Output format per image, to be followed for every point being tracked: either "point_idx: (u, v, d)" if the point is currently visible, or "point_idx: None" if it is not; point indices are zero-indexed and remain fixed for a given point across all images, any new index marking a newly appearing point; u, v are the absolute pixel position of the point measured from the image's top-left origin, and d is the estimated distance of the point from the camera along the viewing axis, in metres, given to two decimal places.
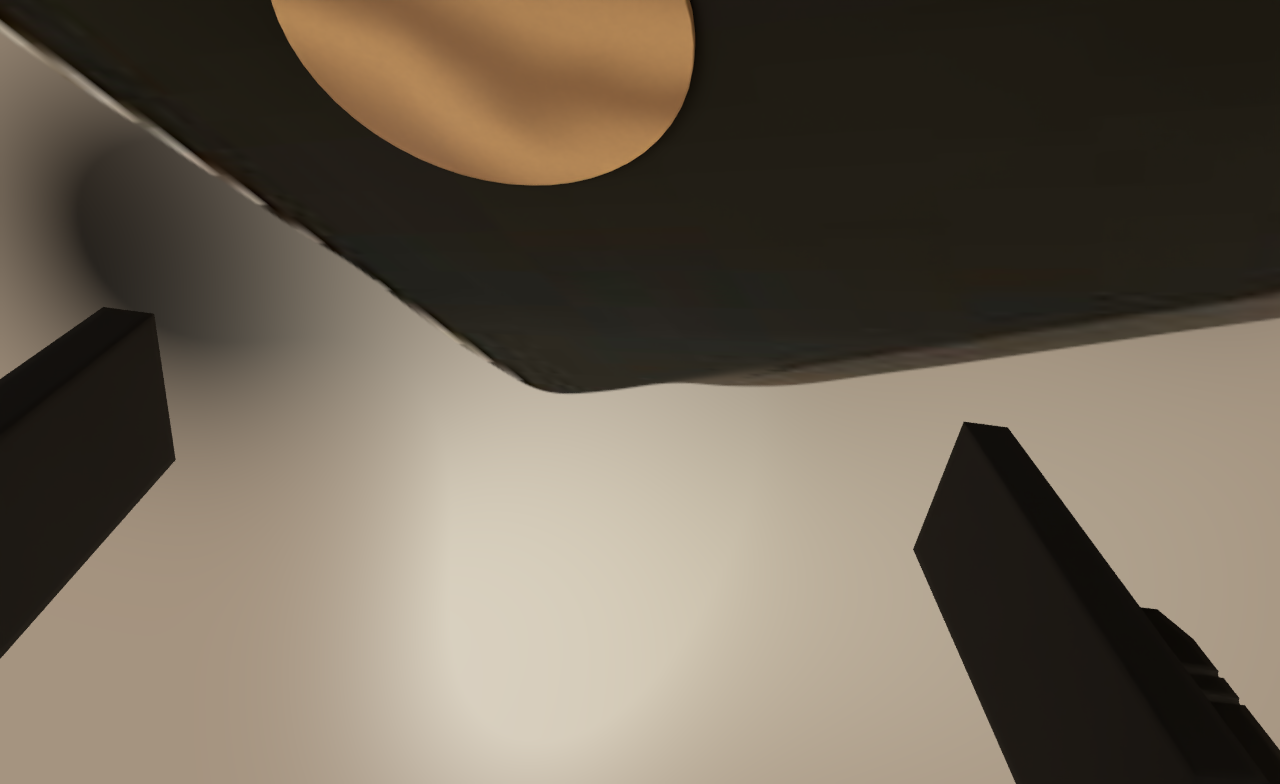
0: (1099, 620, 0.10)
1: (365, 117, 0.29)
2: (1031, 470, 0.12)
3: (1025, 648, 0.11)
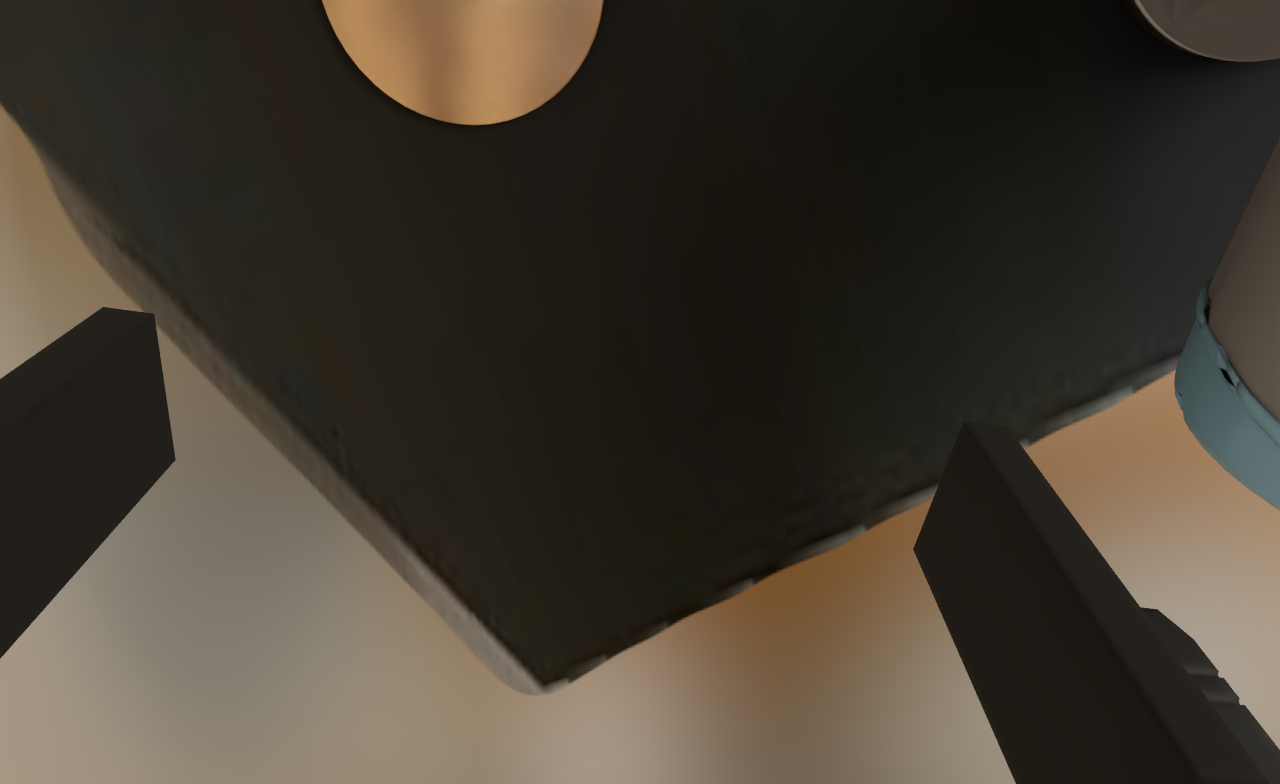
0: (1099, 620, 0.10)
1: None
2: (1031, 470, 0.12)
3: (1025, 648, 0.11)
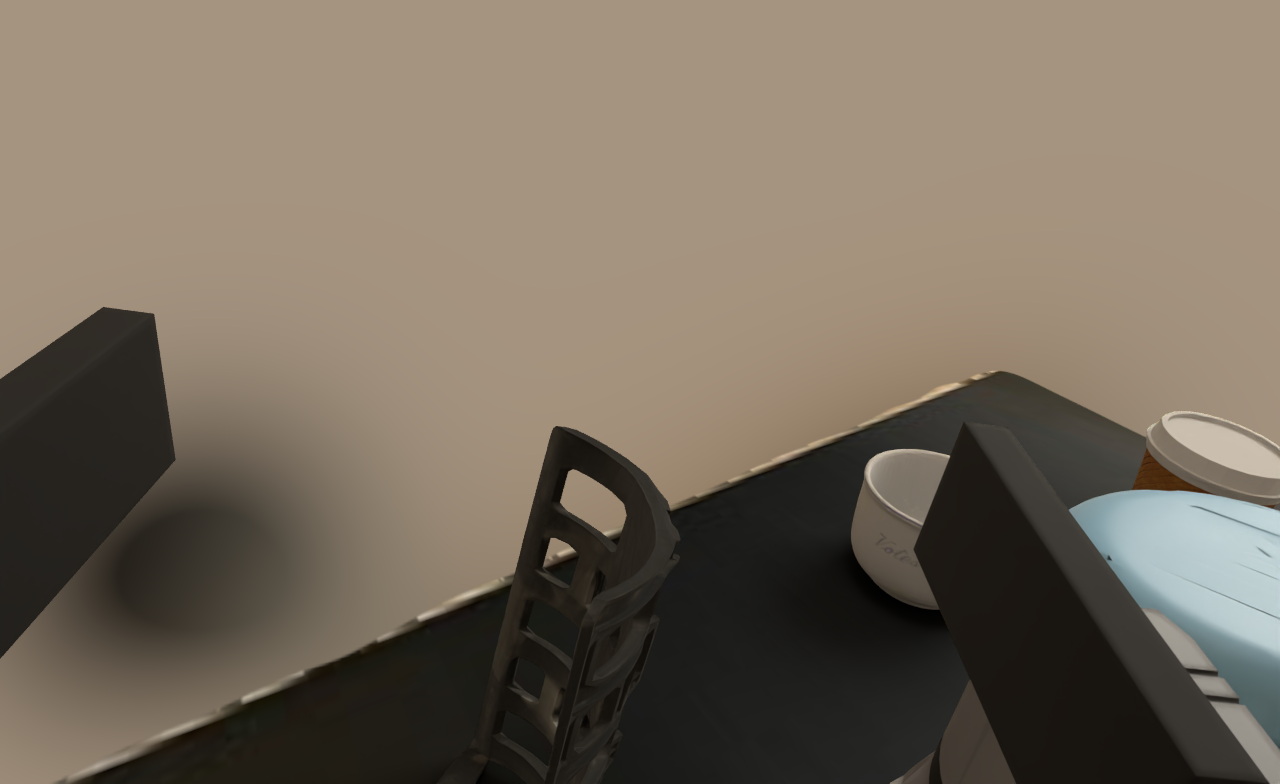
0: (1099, 620, 0.10)
1: None
2: (1031, 470, 0.12)
3: (1025, 648, 0.11)
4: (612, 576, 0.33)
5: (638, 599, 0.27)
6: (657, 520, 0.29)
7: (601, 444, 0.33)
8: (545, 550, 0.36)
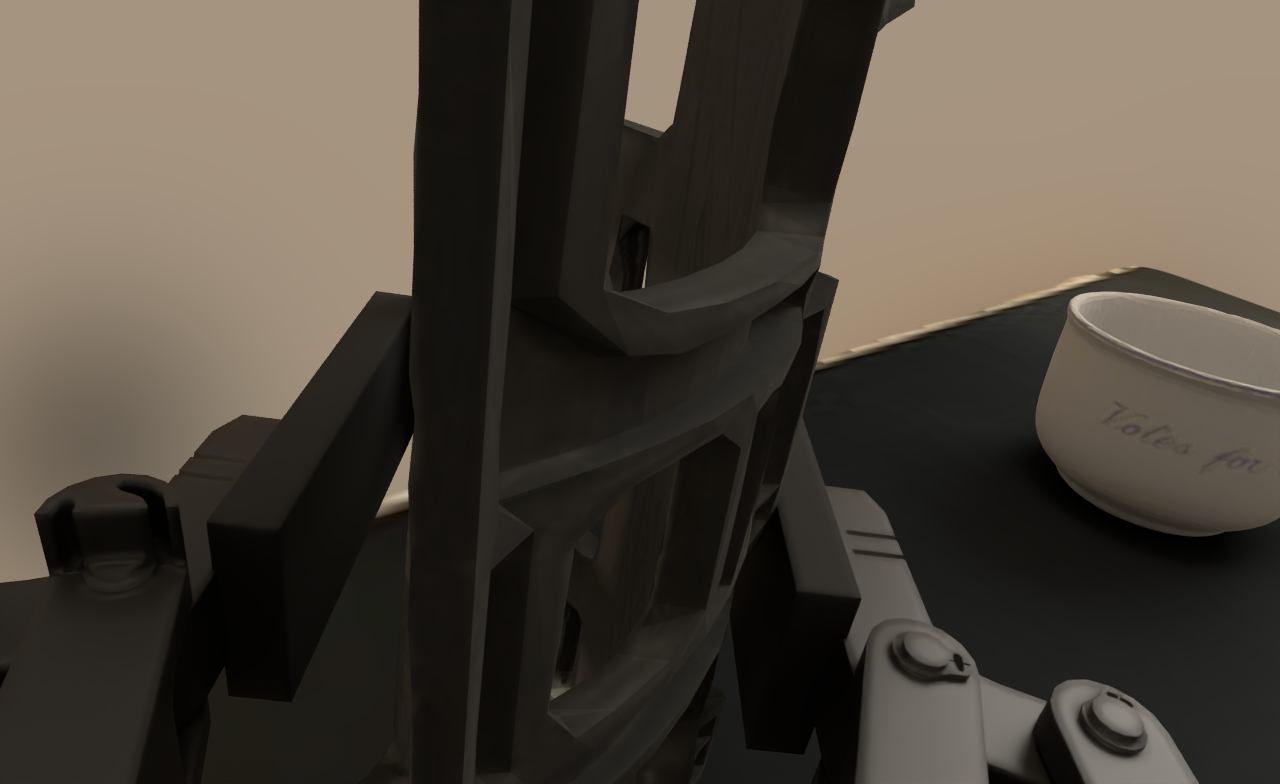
0: None
1: None
2: None
3: None
4: (668, 208, 0.11)
5: None
6: None
7: None
8: None
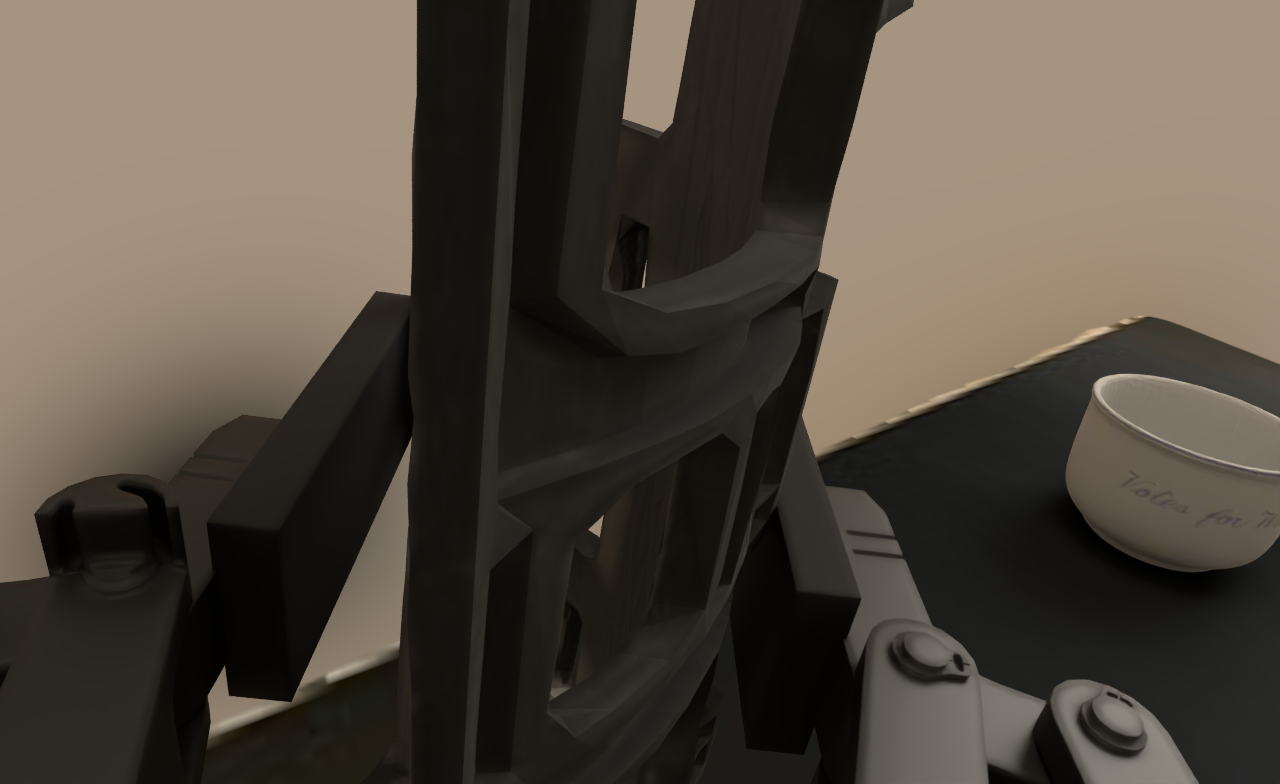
0: None
1: None
2: None
3: None
4: (667, 208, 0.11)
5: None
6: None
7: None
8: None
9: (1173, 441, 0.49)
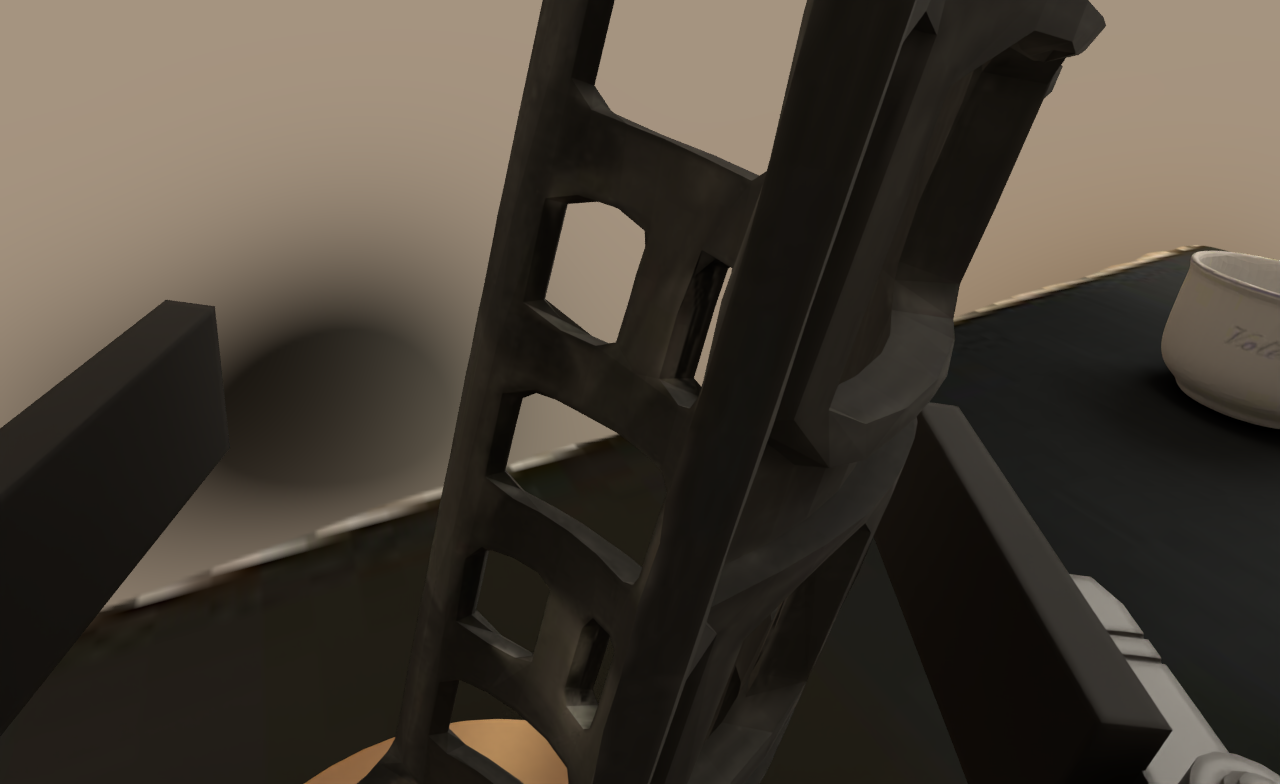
0: (1026, 583, 0.10)
1: (333, 783, 0.19)
2: (976, 446, 0.13)
3: (962, 614, 0.11)
4: None
5: None
6: None
7: None
8: (552, 244, 0.13)
9: None
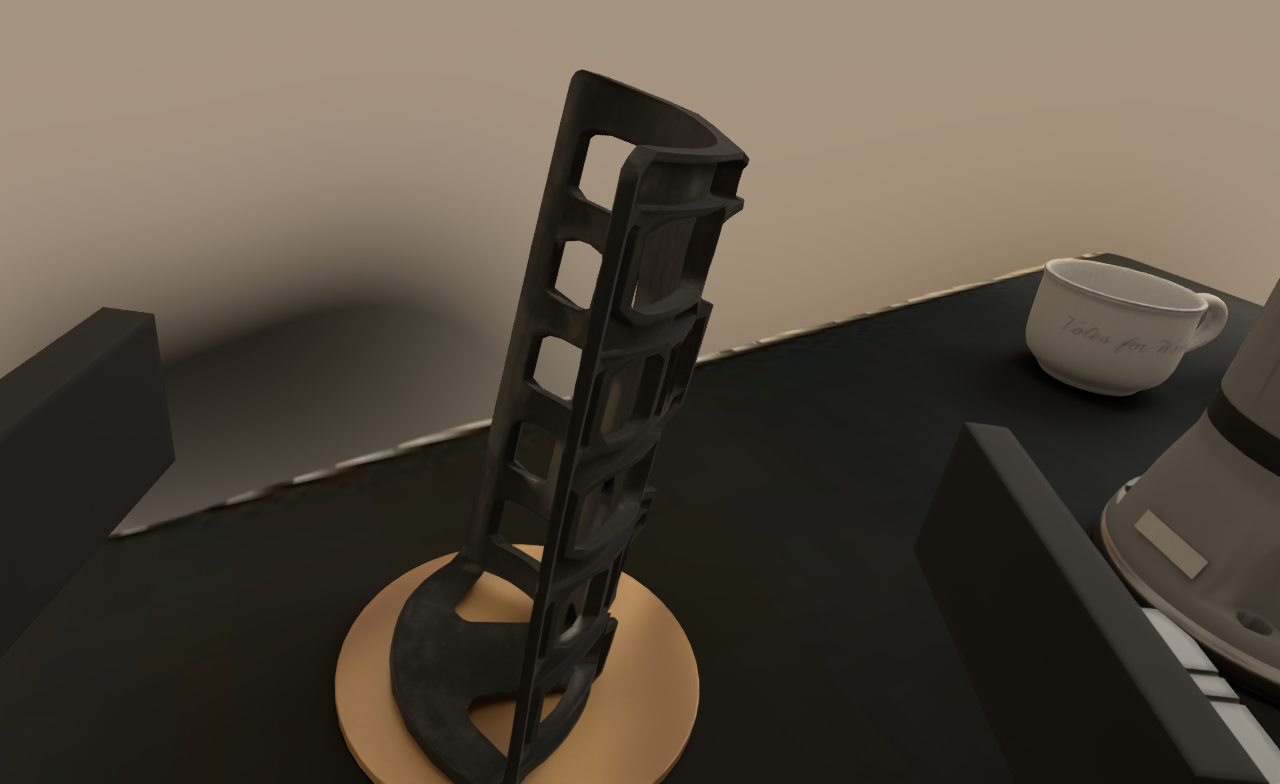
0: (1099, 620, 0.10)
1: (429, 570, 0.34)
2: (1031, 470, 0.12)
3: (1025, 648, 0.11)
4: (648, 266, 0.25)
5: (695, 203, 0.19)
6: (716, 134, 0.21)
7: (636, 88, 0.25)
8: (558, 260, 0.28)
9: None
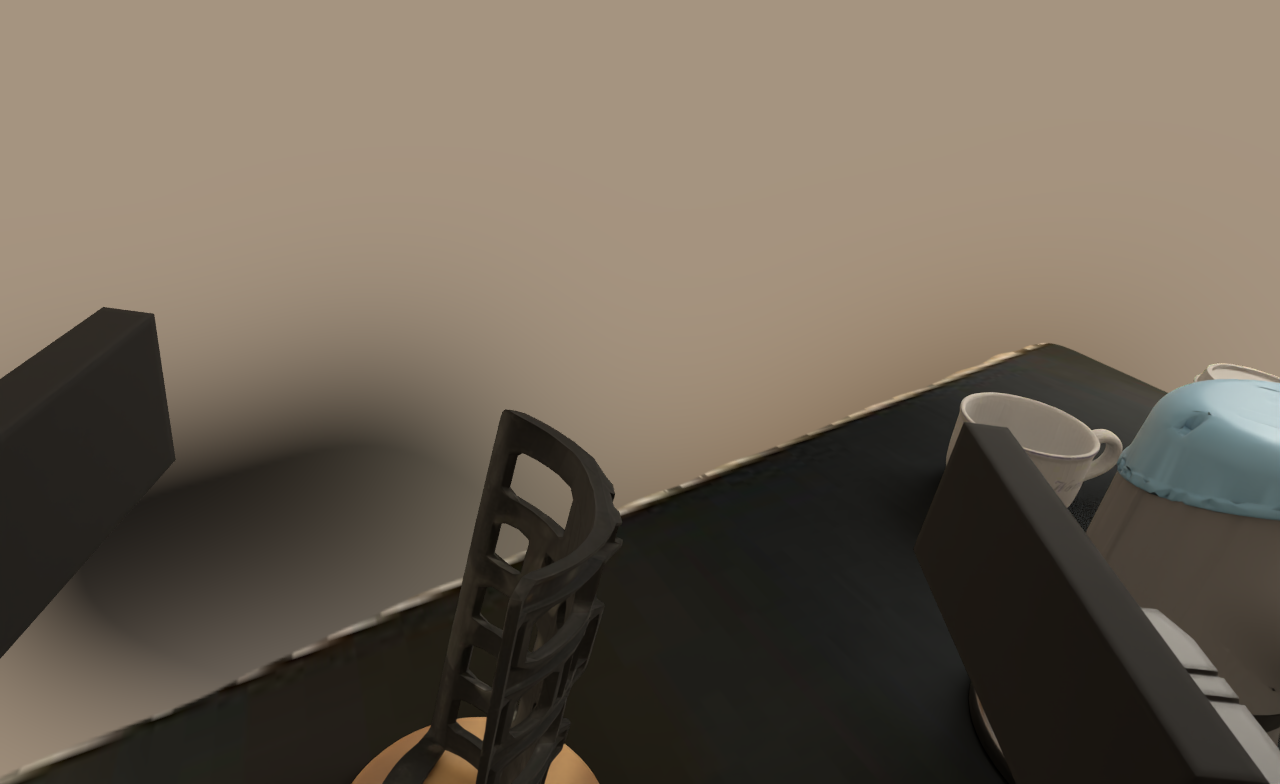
0: (1099, 620, 0.10)
1: (401, 746, 0.41)
2: (1031, 470, 0.12)
3: (1025, 649, 0.11)
4: None
5: (573, 580, 0.27)
6: (598, 502, 0.29)
7: (550, 428, 0.33)
8: (496, 536, 0.35)
9: (1021, 437, 0.73)
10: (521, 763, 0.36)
